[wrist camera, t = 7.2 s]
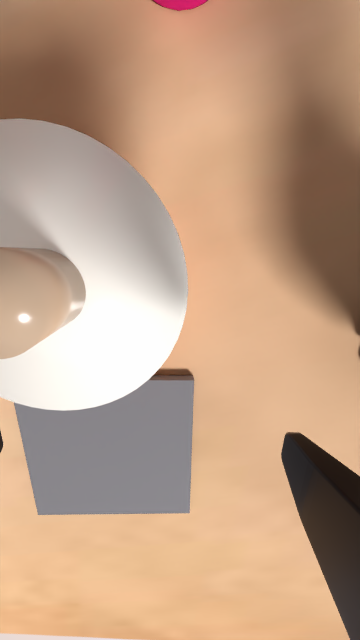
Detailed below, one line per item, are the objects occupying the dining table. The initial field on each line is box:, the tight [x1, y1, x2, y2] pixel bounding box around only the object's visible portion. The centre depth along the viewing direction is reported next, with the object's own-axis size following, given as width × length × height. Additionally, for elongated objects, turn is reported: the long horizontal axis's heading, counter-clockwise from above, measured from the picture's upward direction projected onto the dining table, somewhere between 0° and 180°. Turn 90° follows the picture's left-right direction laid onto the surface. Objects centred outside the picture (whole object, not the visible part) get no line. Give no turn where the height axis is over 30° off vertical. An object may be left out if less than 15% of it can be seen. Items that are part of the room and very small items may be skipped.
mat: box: [14, 375, 194, 515], centre depth 21 cm, size 15×15×1 cm
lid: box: [0, 118, 188, 411], centre depth 9 cm, size 13×13×5 cm
